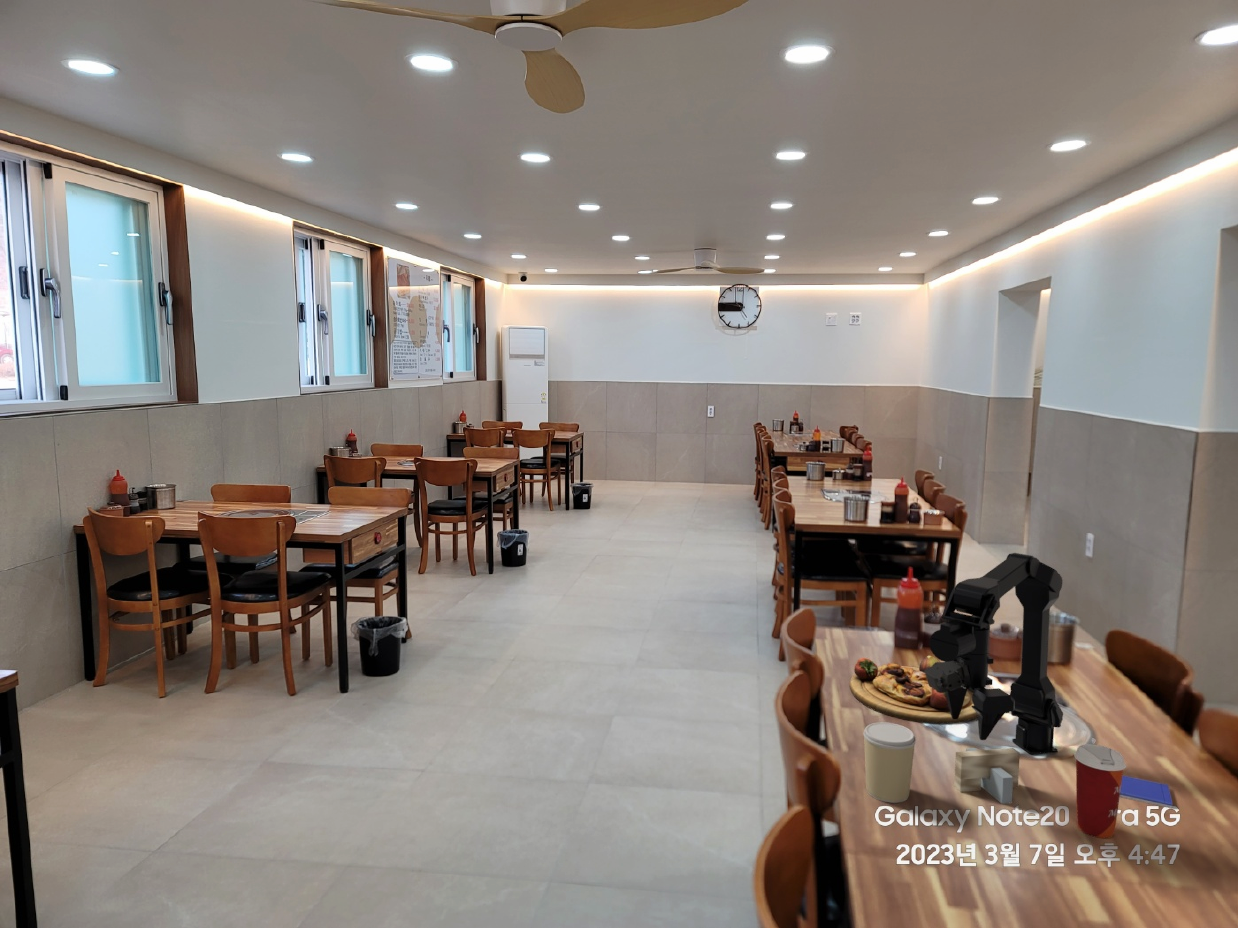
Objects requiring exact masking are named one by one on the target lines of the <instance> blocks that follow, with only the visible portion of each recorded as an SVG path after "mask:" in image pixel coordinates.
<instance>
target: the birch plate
mask: <svg viewBox="0 0 1238 928" xmlns="http://www.w3.org/2000/svg"><path fill="white" fill-rule="evenodd" d="M977 750H978V751H966V750H964V751H955V765H954V766H955V767H954V785H953V786H954V788H955V789H956V790H957V791H958V792H959V793H963V792H964V793H965V792H975V791H976V792H977V791H978V792H979V791H981V790H982V786H981V778H987V777H990V774H991V768H1000V767H1001V768H1002V769H1003V770H1004V771H1006V772H1007V773H1008V774H1010V775H1011V776H1012V777H1013V789H1014V788H1016V789H1017V788H1019V779H1020V778H1019V775H1020V773H1019V772H1020V771H1019V770H1020V755H1021V752H1020V751H1018V750H1017V749H1016V748H1014V747H1008V748H1006V747H1004V748H994V749H993V748H992V749H983V750H982V749H981V750H980V749H977Z"/></svg>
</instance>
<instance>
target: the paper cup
mask: <svg viewBox="0 0 1238 928" xmlns="http://www.w3.org/2000/svg"><path fill="white" fill-rule="evenodd" d="M1073 755H1074V758H1075V760H1076V761H1075V762H1076V765H1075V767H1076V769H1075V770H1076V771H1075V773H1076V774H1075V775H1076V776H1075V778H1076V780H1075V782H1076V785H1075V786H1076V790H1075V791H1076V793H1075V794H1076V825H1077V828H1078V829H1079V830H1080V831H1081V832H1082V833H1084V834H1085V835H1088V836H1091V837H1094V838H1098V839H1111V838H1113V836H1114V834H1115V831H1116V824H1117V818H1118V811H1119V804H1120V798H1121V797H1120V791H1121V783H1122V776H1124V775H1123V774H1124V770H1125V769H1126V767H1127V763H1126V762H1125V760H1124V756H1123V755H1122V754H1121V752H1119V751H1117V750H1116V749H1113V748H1111V747H1108V746H1105V745H1100V744H1090V743H1088V744H1082V745H1079V746H1078V747H1077V749H1076V751H1075V752H1074V754H1073Z"/></svg>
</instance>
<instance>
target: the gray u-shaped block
mask: <svg viewBox="0 0 1238 928" xmlns="http://www.w3.org/2000/svg"><path fill="white" fill-rule="evenodd" d="M978 750H979V749H978V748H976V747H967V748H965V751H978ZM981 788H983V790H985V791H986V792H987V793H989V795H991V796H992V797H993V798H994V799H996V801H998V802H999V803H1000V804H1001V805H1003V804H1004V805H1005V804H1012V803H1013V791H1014V790H1013V789H1014V788H1013V777H1012V776H1011V775H1010V774H1008V773H1007V772H1006V771H1004V770H1003V769H1002V768H1001V767H1000V768H991V774H990V777H987V778H981Z"/></svg>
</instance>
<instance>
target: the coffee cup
mask: <svg viewBox="0 0 1238 928" xmlns="http://www.w3.org/2000/svg"><path fill="white" fill-rule="evenodd" d="M863 739H864V741H863V742H864V744H863V745H864V765H865V766H864V769H865V786H866V787H865V788H866V792H867V793H868V795H870V797H872V798H873V799H876V800H878V801H880V802H884V803H885V802H886V803H890V804H891V803H892V804H896V803H903V802H905V801H906V800H908V799H909V796H910V788H911V780H912V773H913V772H912V771H913V764H914V756H915V755H914V754H915V745H916V740H917V739H916V737H915V734H914V732H913V731H912V730H911V729H909V728H908V727H906V726H904V725H901V724H897V723H893V722H888V721H887V722H886V721H884V722H883V721H882V722H881V721H880V722H873V723H870V724H868V725H867V726H866V727H865V728H864V730H863Z"/></svg>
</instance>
